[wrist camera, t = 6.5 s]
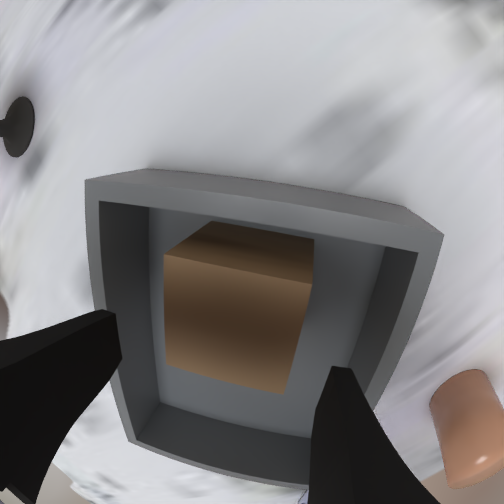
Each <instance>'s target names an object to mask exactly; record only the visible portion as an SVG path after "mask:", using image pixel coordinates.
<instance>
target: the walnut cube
mask: <svg viewBox="0 0 504 504" xmlns="http://www.w3.org/2000/svg"><path fill="white" fill-rule="evenodd" d="M313 261H314V239H311V238H306V237H300V236H295V235H290V234H284V233H279V232H273V231H268V230H262V229H257V228H251V227H245V226H240V225H234V224H228V223H222V222H217V221H210V222H209V223H207V224H206V225H204V226H203V227H202V228H200V229H199V230H197V231H196V232H194V233H193V234H192V235H190V236H189V237H187V238H186V239H184V240H183V241H182V242H180V243H179V244H177V245H176V246H174V247H173V248H172V249H170V250H169V251H167V252H166V253H165V254H164V330H165V352H166V364H167V365H170V366H173V367H176V368H180V369H183V370H186V371H189V372H193V373H196V374H200V375H203V376H207V377H210V378H214V379H218V380H221V381H225V382H229V383H233V384H237V385H241V386H245V387H250V388H254V389H259V390H263V391H268V392H273V393H278V394H283V395H284V391H285V388H286V384H287V381H288V377H289V374H290V370H291V367H292V363H293V360H294V356H295V352H296V348H297V345H298V341H299V337H300V333H301V329H302V325H303V321H304V317H305V313H306V309H307V305H308V301H309V297H310V292H311V288H312V282H313Z"/></svg>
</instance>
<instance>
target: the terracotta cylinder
mask: <svg viewBox="0 0 504 504" xmlns="http://www.w3.org/2000/svg"><path fill="white" fill-rule="evenodd" d="M429 407H430V411H431V415H432V418H433V422H434V426H435V429H436V433H437V437H438V441H439V445H440V449H441V454H442V458H443V462H444V467H445V472H446V477H447V482H448V486H449V487H450V488H452V489H460V488H465V487H469V486H472V485H475V484H477V483H479V482H482V481H484V480H486V479H487V478H489V477H491V476H493V475H494V474H496V473H497V472H498V471H500V470H501V469H502V468H504V408H503V406H502V404H501V402H500V400H499V398H498V396H497V394H496V392H495V390H494V388H493V387H492V385H491V383H490V381H489V379H488V377H487V375H486V374H485V373H484V372H483V371H481V370H477V369H472V370H467V371H464V372H461V373H459V374H457V375H455V376H453V377H451V378H450V379H448V380H447V381H446V382H445V383H443V384H442V385H441V386H440V387H439V388H438V389H437V391H436V392H435V393H434V395H433V396H432V398H431V401H430V406H429Z"/></svg>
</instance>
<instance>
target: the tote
mask: <svg viewBox="0 0 504 504" xmlns="http://www.w3.org/2000/svg"><path fill="white" fill-rule="evenodd" d="M85 219H86V237H87V250H88V261H89V271H90V280H91V287H92V295H93V302H94V308H95V311H96V310H100V309H104V310H107V311H110V312H113V313H116V319H117V327H118V334H119V340H120V346H121V352H122V358H123V359H122V360H121V362H120V364H119V366H118V367H117V369H116V371H115V372H114V374H113V375H112V377H111V379H110V384H111V387H112V391H113V395H114V398H115V402H116V405H117V408H118V412H119V415H120V418H121V421H122V424H123V427H124V430H125V433H126V436H127V439H128V442H131V443H133V444H135V445H138V446H140V447H142V448H145V449H147V450H150V451H152V452H155V453H157V454H160V455H163V456H165V457H168V458H171V459H174V460H177V461H180V462H183V463H186V464H189V465H192V466H195V467H198V468H202V469H205V470H209V471H212V472H216V473H219V474H223V475H227V476H231V477H236V478H240V479H244V480H249V481H254V482H259V483H264V484H270V485H276V486H282V487H289V488H297V489H305V490H309V475H310V454H311V435H312V428H313V421H314V415H315V409H316V406H317V404H318V401H319V399H320V396H321V393H322V391H323V388H324V385H325V383H326V380H327V377H328V375H329V372H330V369H331V366H338V367H345V368H351V369H352V370H353V372H354V374H355V376H356V378H357V381H358V383H359V385H360V387H361V389H362V391H363V393H364V395H365V397H366V399H367V401H368V403H369V405H370V407H371V409H372V411H373V410H374V408H375V406H376V404H377V403H378V401H379V399H380V397H381V395H382V393H383V392H384V390H385V388H386V386H387V384H388V382H389V380H390V378H391V376H392V374H393V372H394V370H395V368H396V366H397V364H398V361H399V359H400V357H401V355H402V353H403V351H404V348H405V346H406V344H407V342H408V339H409V337H410V335H411V332H412V330H413V327H414V325H415V322H416V320H417V317H418V315H419V312H420V309H421V307H422V304H423V301H424V299H425V296H426V293H427V290H428V287H429V284H430V281H431V278H432V275H433V272H434V269H435V266H436V262H437V259H438V256H439V252H440V248H441V245H442V241H443V237H444V234H443V233H442V232H440V231H439V230H437V229H436V228H435V227H433V226H432V225H431V224H429V223H428V222H426V221H425V220H423V219H422V218H421V217H419V216H418V215H416V214H415V213H413V212H412V211H410V210H409V209H407V208H406V207H403V206H398V205H394V204H390V203H385V202H380V201H376V200H371V199H366V198H361V197H356V196H351V195H346V194H340V193H335V192H330V191H324V190H318V189H312V188H306V187H300V186H294V185H288V184H281V183H274V182H268V181H260V180H253V179H245V178H238V177H229V176H221V175H212V174H202V173H192V172H182V171H170V170H158V169H140V170H134V171H128V172H122V173H117V174H111V175H106V176H101V177H96V178H91V179H86V180H85ZM210 221H217V222H222V223H228V224H234V225H240V226H245V227H251V228H257V229H262V230H268V231H273V232H279V233H284V234H290V235H295V236H300V237H306V238H311V239H314V261H313V282H312V288H311V292H310V297H309V301H308V305H307V309H306V313H305V317H304V321H303V325H302V329H301V333H300V337H299V341H298V345H297V348H296V352H295V356H294V360H293V363H292V367H291V370H290V374H289V377H288V381H287V384H286V388H285V391H284V395H283V394H278V393H273V392H268V391H263V390H259V389H254V388H250V387H245V386H241V385H237V384H233V383H229V382H225V381H221V380H218V379H214V378H210V377H207V376H203V375H200V374H196V373H193V372H189V371H186V370H183V369H180V368H176V367H173V366H170V365H167V364H166V352H165V330H164V254H165V253H166V252H167V251H169V250H170V249H172V248H173V247H174V246H176V245H177V244H179V243H180V242H182V241H183V240H184V239H186V238H187V237H189V236H190V235H192V234H193V233H194V232H196V231H197V230H199V229H200V228H202V227H203V226H204V225H206V224H207V223H209V222H210Z"/></svg>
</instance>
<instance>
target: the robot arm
mask: <svg viewBox="0 0 504 504" xmlns="http://www.w3.org/2000/svg"><path fill="white" fill-rule="evenodd" d="M122 359H123V358H122V352H121V346H120V340H119V334H118V327H117V319H116V313H113V312H110V311H107V310H104V309H100V310H96V311H93V312H90V313H87V314H84V315H81V316H78V317H75V318H73V319H70V320H67V321H64V322H62V323H59V324H56V325H53V326H51V327H48V328H45V329H42V330H38V331H35V332H32V333H29V334H26V335H23V336H19V337H15V338H11V339H6V340H2V341H0V491H3V490H4V489H5V488H8V489H9V490H10V491H11V492H12V493H13V494H14V495H15V496H16V497H18V498H19V499H20V500H21V501H22V502H23V503H25V504H35V503H36V500H37V497H38V494H39V491H40V488H41V485H42V482H43V480H44V477H45V475H46V473H47V471H48V468H49V466H50V464H51V462H52V460H53V458H54V456H55V454H56V452H57V450H58V449H59V447H60V445H61V443H62V442H63V440H64V438H65V437H66V435H67V433H68V432H69V430H70V428H71V427H72V426H73V424H74V423H75V422H76V420H77V419H78V418H79V417H80V415H81V414H82V413H83V412H84V410H85V409H86V408H87V407H88V406H89V404H90V403H91V402H92V401H93V400H94V398H95V397H96V396H97V395H98V394H99V392H100V391H101V390H102V389H103V388H104V386H105V385H106V384H107V383H108V381H109V380H110V379H111V377H112V375H113V374H114V372H115V371H116V369H117V367H118V366H119V364H120V362H121V360H122ZM0 504H4V503H3V502H2V501H1V500H0ZM298 504H440V503H439V502H438V501H437V500H436V499H435V498H434V497H433V496H432V495H431V494H430V493H429V491H428V490H427V489H426V488H425V487H424V486H423V485H422V484H421V483H420V482H419V480H418V479H417V478H416V477H415V476H414V474H413V473H412V472H411V471H410V469H409V468H408V467H407V465H406V464H405V463H404V461H403V460H402V459H401V457H400V456H399V454H398V453H397V451H396V450H395V448H394V447H393V445H392V443H391V442H390V440H389V439H388V437H387V435H386V434H385V432H384V430H383V429H382V427H381V425H380V423H379V422H378V420H377V418H376V416H375V414H374V412H373V411H372V409H371V407H370V405H369V403H368V401H367V399H366V397H365V395H364V393H363V391H362V389H361V387H360V385H359V383H358V381H357V378H356V376H355V374H354V372H353V370H352V369H351V368H345V367H338V366H331V369H330V372H329V375H328V377H327V380H326V383H325V385H324V388H323V391H322V393H321V396H320V399H319V401H318V404H317V406H316V409H315V415H314V421H313V428H312V435H311V454H310V475H309V490H307V491H306V493H305V494H304V495H303V497H302V498H301V499H300V501H299V502H298Z"/></svg>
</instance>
